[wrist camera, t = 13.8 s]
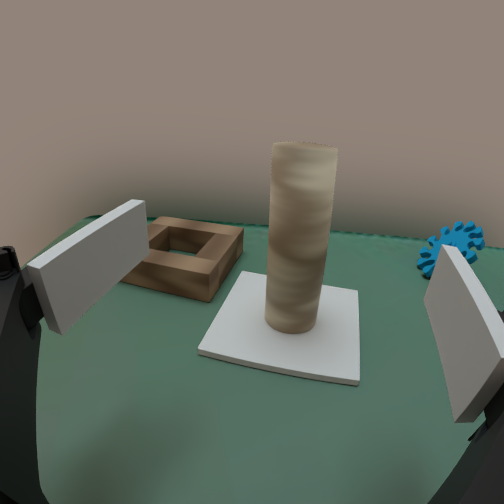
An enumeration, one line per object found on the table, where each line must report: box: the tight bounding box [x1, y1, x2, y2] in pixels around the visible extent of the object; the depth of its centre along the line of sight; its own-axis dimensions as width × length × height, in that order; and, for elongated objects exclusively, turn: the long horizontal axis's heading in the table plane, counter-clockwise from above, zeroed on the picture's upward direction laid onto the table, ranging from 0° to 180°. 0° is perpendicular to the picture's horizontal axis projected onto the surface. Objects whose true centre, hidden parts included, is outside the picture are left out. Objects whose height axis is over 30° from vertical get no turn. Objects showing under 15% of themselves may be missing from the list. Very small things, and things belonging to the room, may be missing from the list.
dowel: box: [265, 142, 338, 334], centre depth 23 cm, size 4×4×14 cm
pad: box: [197, 271, 360, 386], centre depth 26 cm, size 12×12×1 cm
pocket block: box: [120, 216, 244, 302], centre depth 34 cm, size 11×11×3 cm
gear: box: [417, 221, 485, 278], centre depth 34 cm, size 11×6×10 cm
